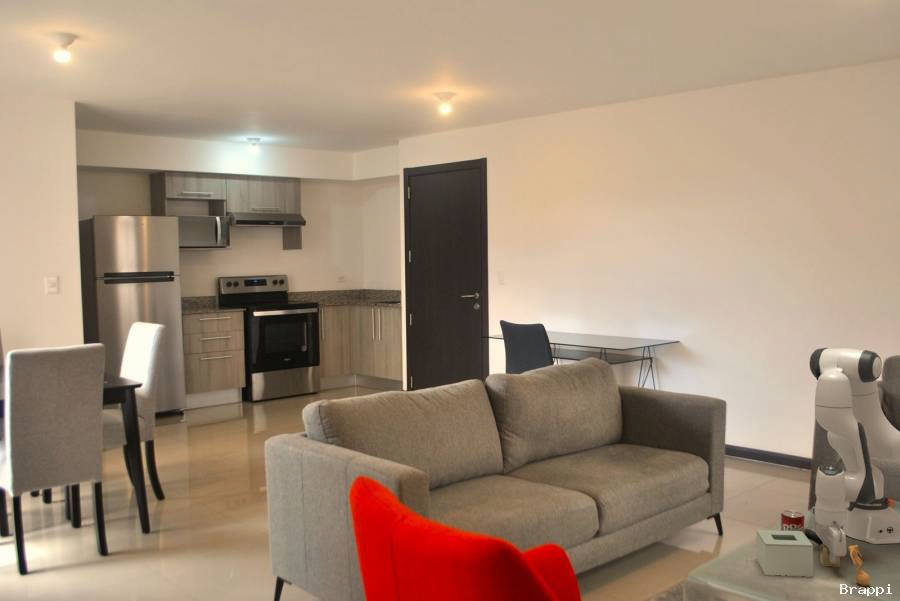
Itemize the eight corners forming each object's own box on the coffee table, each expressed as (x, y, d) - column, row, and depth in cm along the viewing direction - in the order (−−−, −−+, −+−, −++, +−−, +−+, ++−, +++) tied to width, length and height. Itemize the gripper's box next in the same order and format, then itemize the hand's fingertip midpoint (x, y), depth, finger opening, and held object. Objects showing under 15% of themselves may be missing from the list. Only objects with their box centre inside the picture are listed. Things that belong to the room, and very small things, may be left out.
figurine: (867, 591, 233) (867, 552, 232) (844, 586, 237) (845, 547, 236) (872, 581, 240) (873, 543, 239) (851, 576, 243) (851, 538, 242)
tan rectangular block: (836, 563, 254) (836, 544, 253) (839, 566, 251) (840, 548, 250) (820, 562, 254) (820, 544, 254) (823, 566, 252) (823, 548, 251)
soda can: (806, 552, 262) (806, 517, 261) (783, 551, 264) (783, 516, 263) (801, 544, 269) (801, 510, 269) (778, 543, 271) (778, 509, 270)
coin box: (801, 561, 256) (801, 531, 255) (812, 576, 244) (813, 545, 243) (756, 559, 258) (756, 529, 257) (765, 575, 246) (765, 543, 245)
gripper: (852, 528, 241) (851, 572, 242) (830, 506, 261) (830, 547, 262) (830, 528, 242) (829, 572, 243) (810, 505, 262) (810, 546, 263)
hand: (829, 558), depth 252 cm, fingers closed on tan rectangular block, 3 cm apart
